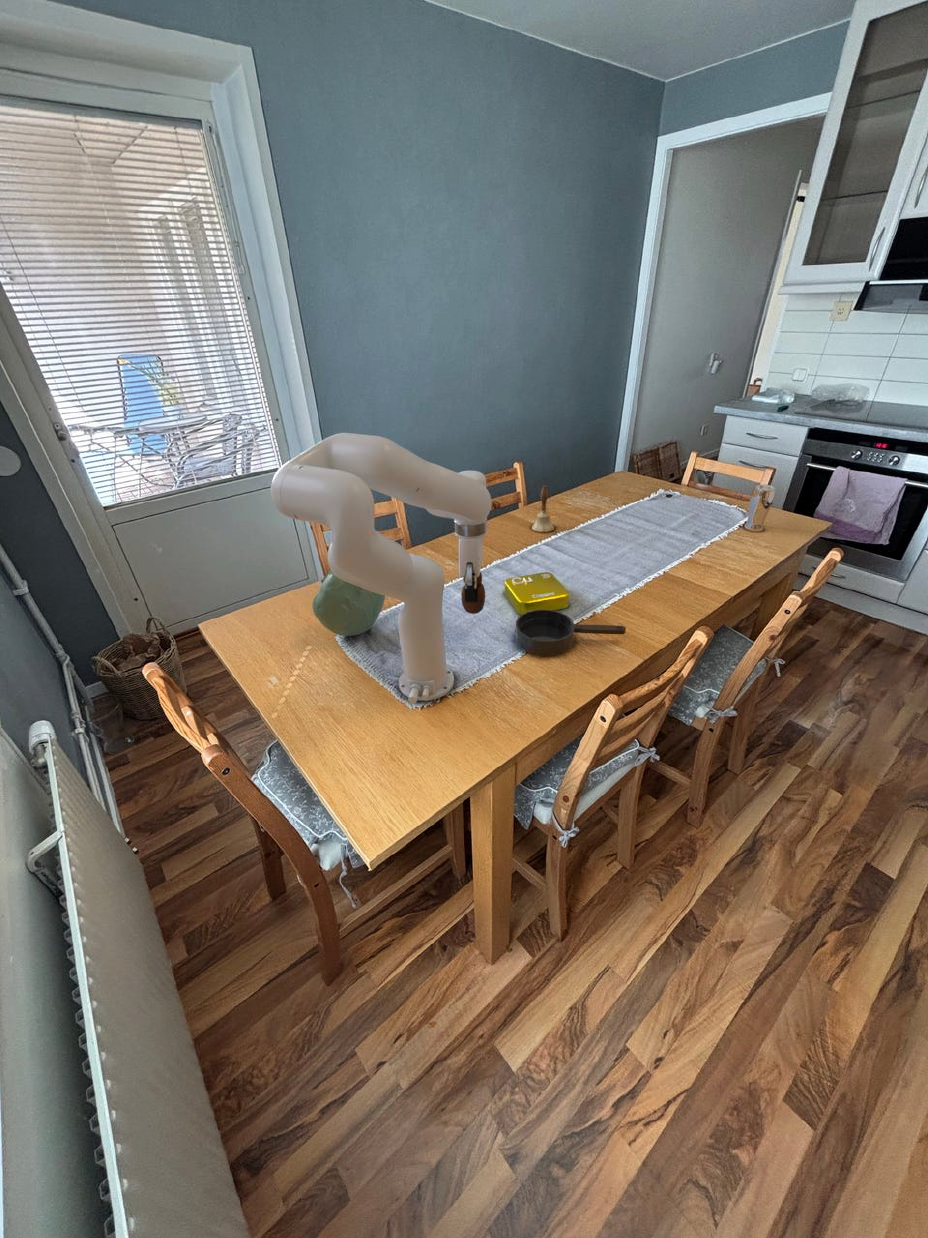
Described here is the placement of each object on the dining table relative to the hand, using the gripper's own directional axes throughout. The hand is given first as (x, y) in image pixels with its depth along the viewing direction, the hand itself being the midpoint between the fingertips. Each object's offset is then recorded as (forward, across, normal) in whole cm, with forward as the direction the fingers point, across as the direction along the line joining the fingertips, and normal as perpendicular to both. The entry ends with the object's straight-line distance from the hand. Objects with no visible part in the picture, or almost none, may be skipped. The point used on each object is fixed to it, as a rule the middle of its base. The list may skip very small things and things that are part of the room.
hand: (473, 593), depth 125 cm
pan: (+12, +2, +18) cm, 22 cm away
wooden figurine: (+5, 0, 0) cm, 5 cm away
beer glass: (+13, -72, +94) cm, 119 cm away
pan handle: (+9, +2, +31) cm, 33 cm away
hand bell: (+13, -71, +19) cm, 74 cm away
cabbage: (+12, +1, -32) cm, 34 cm away
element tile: (+12, -18, +16) cm, 27 cm away
